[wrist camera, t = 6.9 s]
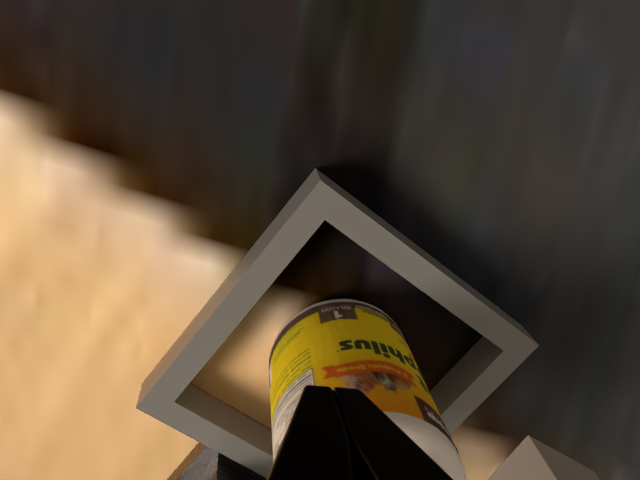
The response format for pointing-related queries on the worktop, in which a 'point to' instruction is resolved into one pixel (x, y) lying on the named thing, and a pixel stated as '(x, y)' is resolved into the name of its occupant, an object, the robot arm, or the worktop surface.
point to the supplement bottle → (356, 372)
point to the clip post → (212, 467)
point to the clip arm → (540, 464)
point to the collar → (257, 276)
